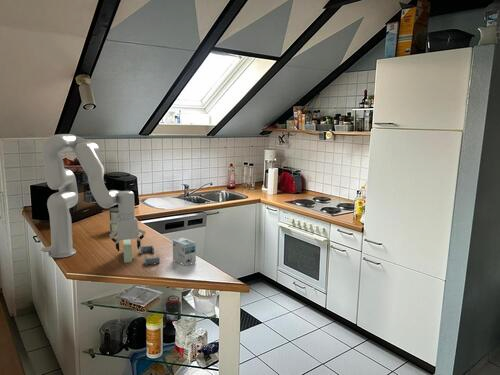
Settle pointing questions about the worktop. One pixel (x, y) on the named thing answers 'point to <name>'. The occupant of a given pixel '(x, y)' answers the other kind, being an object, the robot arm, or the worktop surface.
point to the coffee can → (113, 219)
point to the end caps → (149, 260)
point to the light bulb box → (184, 251)
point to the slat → (127, 250)
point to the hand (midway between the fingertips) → (128, 249)
